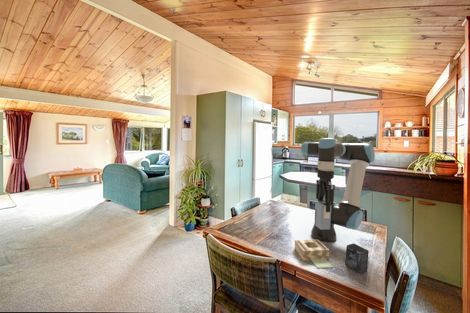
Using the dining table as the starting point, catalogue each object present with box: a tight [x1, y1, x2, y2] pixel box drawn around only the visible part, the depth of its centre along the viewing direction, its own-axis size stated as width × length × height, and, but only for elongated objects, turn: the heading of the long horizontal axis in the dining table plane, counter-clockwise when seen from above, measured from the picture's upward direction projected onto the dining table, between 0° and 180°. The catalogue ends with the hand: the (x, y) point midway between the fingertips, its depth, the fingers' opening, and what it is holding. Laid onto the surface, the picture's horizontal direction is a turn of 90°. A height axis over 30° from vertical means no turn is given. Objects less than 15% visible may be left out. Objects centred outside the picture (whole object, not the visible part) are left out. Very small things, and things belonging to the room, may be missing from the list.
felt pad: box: [310, 259, 334, 269], centre depth 110 cm, size 8×8×1 cm
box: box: [345, 242, 369, 274], centre depth 106 cm, size 8×6×11 cm
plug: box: [315, 201, 332, 230], centre depth 108 cm, size 5×5×13 cm
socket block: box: [294, 239, 330, 261], centre depth 119 cm, size 14×12×5 cm
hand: (323, 216), depth 109 cm, fingers closed on plug, 5 cm apart
